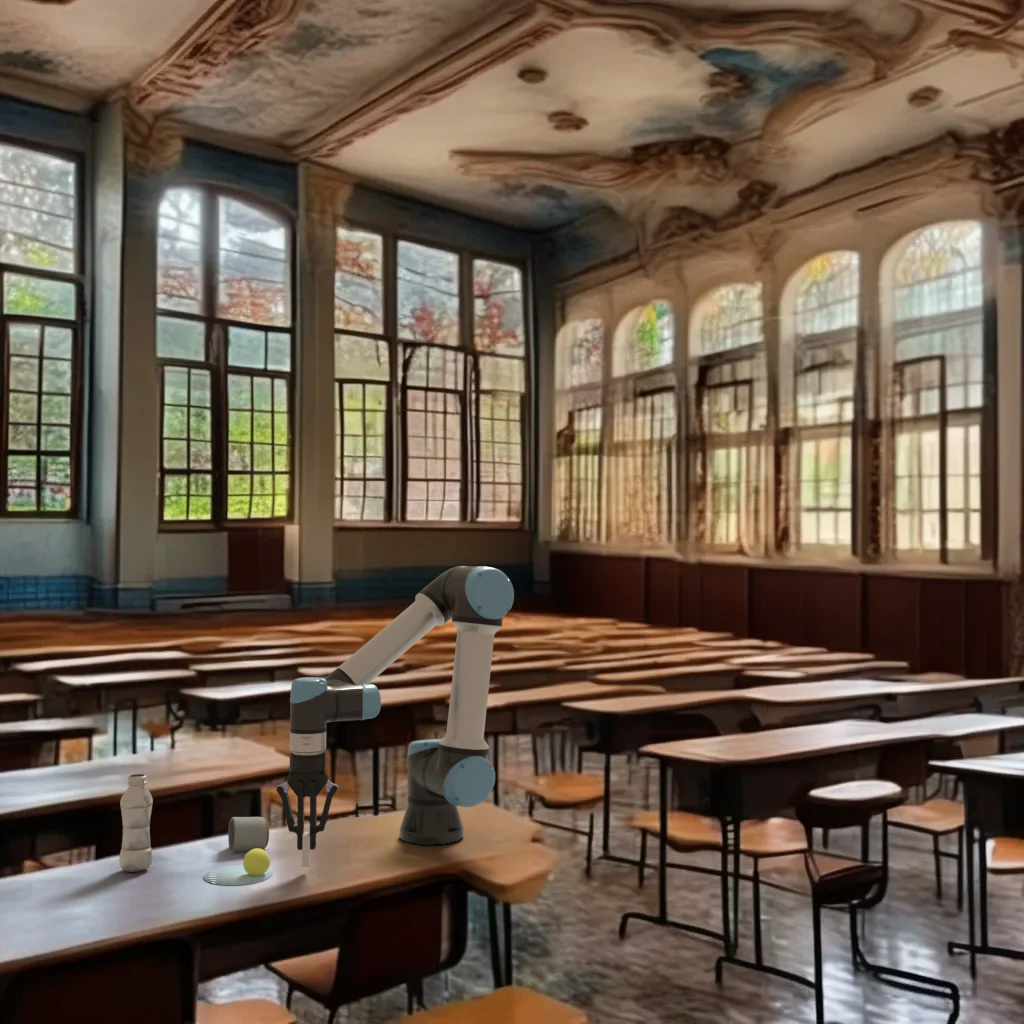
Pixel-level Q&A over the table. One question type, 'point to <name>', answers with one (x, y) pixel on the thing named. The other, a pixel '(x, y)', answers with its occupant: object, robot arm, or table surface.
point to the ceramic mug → (248, 833)
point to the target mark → (236, 876)
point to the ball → (256, 862)
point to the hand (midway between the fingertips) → (306, 864)
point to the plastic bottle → (136, 825)
